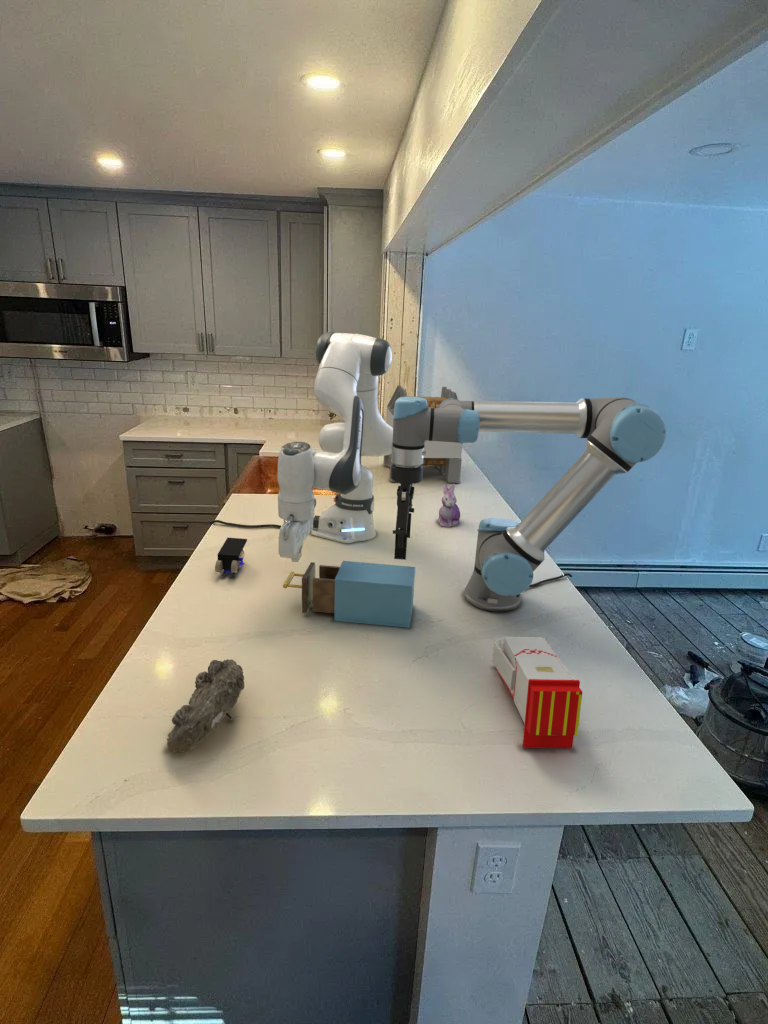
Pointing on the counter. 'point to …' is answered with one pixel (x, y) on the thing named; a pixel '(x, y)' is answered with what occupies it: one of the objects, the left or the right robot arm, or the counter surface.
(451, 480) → the transformer
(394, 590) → the cabinet
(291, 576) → the drawer
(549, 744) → the toy
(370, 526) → the left robot arm
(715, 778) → the counter surface
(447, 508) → the figurine
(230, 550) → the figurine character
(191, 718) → the fossil
